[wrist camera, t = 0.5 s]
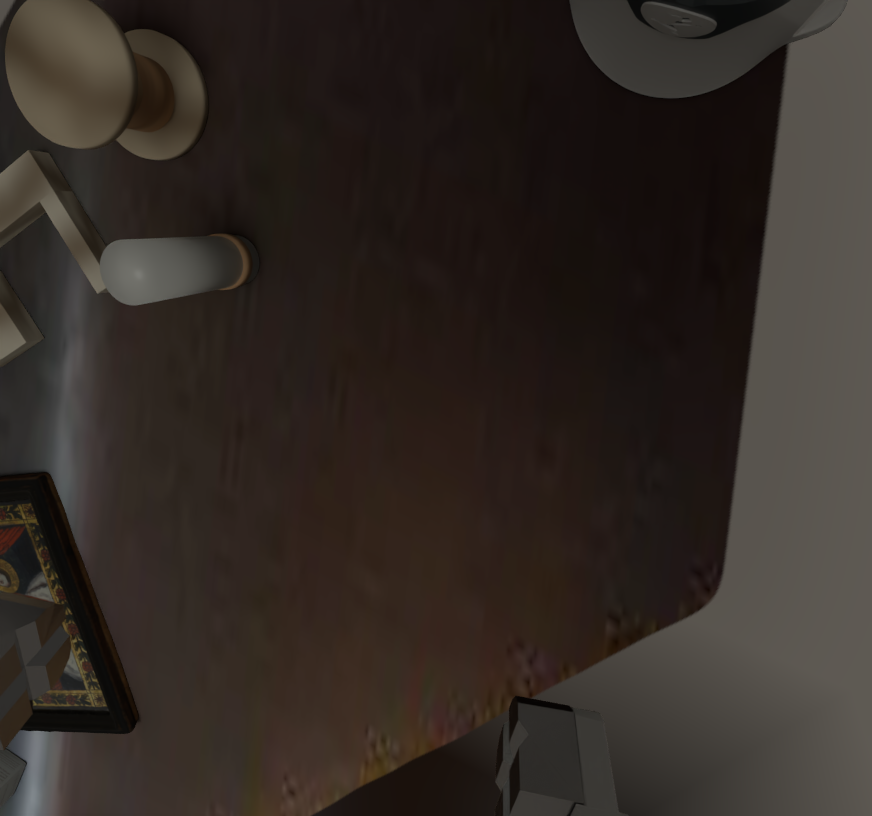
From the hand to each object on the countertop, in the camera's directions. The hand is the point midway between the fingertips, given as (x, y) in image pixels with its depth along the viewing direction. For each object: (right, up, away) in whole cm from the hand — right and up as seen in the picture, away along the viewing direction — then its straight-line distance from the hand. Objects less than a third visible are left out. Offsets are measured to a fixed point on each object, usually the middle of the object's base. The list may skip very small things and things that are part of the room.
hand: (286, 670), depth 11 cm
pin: (-14, +17, +38) cm, 44 cm away
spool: (-19, +29, +36) cm, 50 cm away
